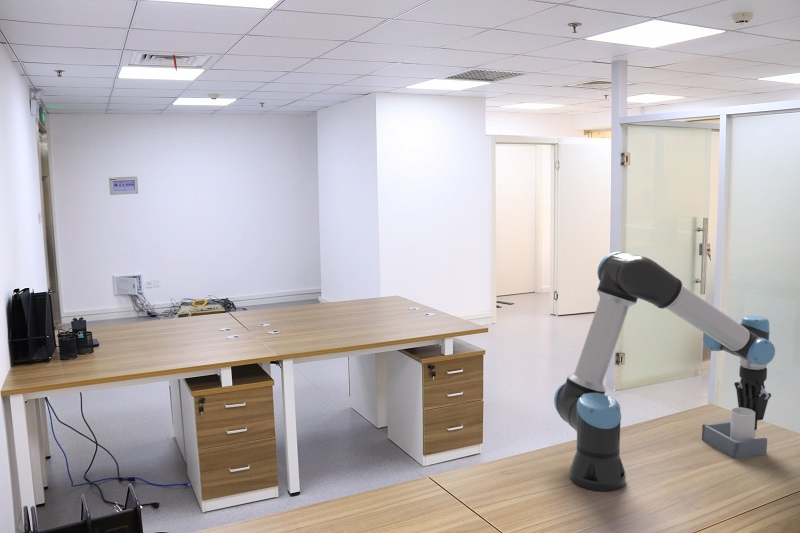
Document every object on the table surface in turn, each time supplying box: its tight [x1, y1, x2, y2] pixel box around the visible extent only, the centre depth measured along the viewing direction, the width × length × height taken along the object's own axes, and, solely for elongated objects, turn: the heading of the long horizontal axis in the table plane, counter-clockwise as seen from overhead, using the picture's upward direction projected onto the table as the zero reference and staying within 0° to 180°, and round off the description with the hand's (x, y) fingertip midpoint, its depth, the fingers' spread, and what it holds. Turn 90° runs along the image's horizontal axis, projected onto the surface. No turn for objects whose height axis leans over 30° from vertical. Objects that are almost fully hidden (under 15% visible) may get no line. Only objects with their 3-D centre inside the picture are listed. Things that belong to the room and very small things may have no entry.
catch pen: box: [701, 420, 768, 460], centre depth 207 cm, size 11×15×5 cm
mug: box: [730, 406, 755, 441], centre depth 206 cm, size 10×7×12 cm, turn 172°
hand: (749, 438), depth 208 cm, fingers closed
